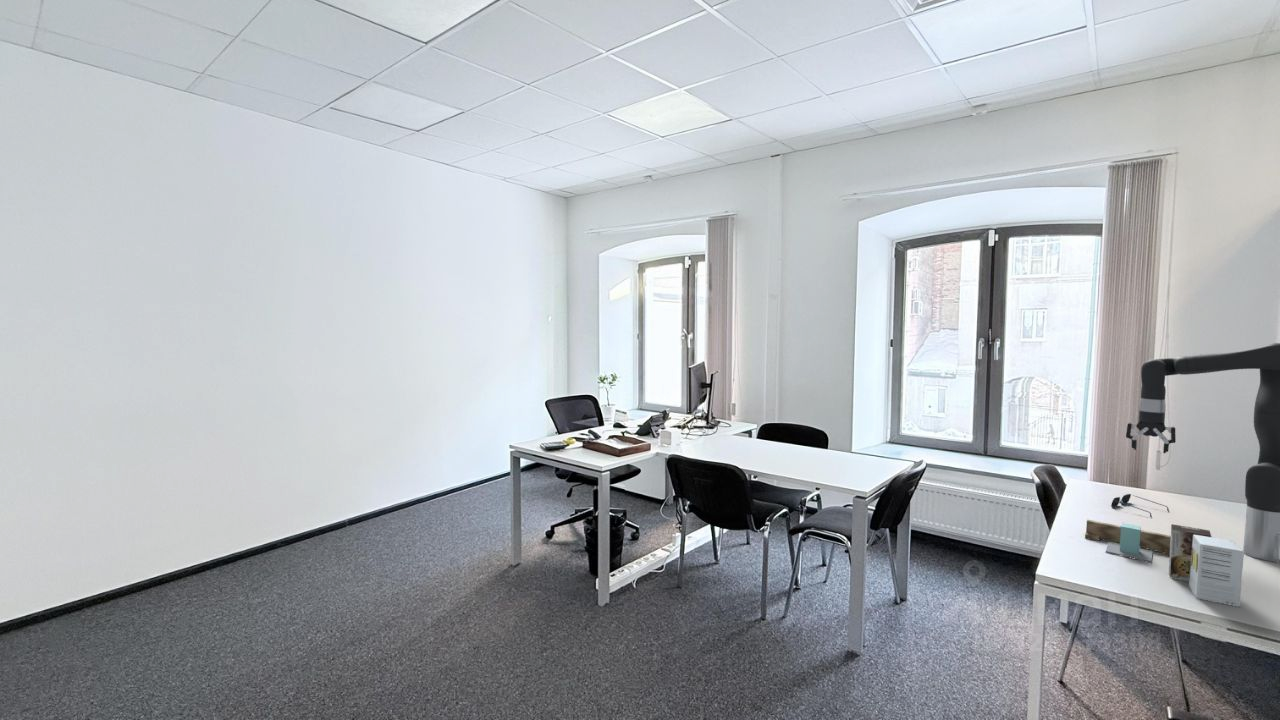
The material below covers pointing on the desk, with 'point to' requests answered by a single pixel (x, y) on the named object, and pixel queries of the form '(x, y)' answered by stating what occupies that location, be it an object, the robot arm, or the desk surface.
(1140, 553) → the grey mat
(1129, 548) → the teal block
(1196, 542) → the supplement box
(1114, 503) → the sunglasses
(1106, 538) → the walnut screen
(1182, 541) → the coffee box
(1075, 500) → the desk surface
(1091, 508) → the desk surface
